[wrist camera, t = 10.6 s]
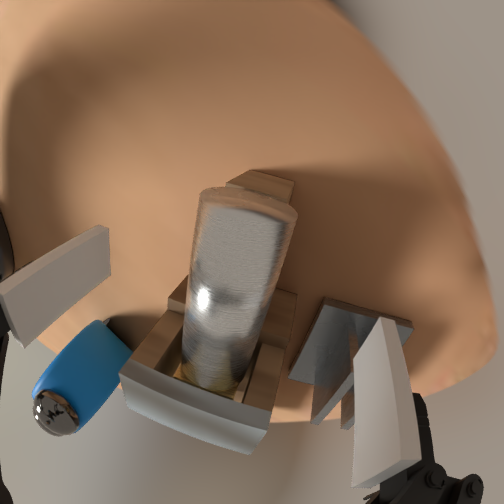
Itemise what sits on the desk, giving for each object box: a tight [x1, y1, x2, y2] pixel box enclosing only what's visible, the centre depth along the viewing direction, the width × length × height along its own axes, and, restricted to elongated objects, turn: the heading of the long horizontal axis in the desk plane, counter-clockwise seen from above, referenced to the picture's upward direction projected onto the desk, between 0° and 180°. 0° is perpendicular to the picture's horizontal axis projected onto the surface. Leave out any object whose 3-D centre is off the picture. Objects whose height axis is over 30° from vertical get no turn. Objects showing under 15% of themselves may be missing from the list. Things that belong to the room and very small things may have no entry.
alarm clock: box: [32, 318, 134, 436], centre depth 22 cm, size 13×6×15 cm, turn 135°
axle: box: [181, 187, 298, 390], centre depth 13 cm, size 10×4×4 cm, turn 167°
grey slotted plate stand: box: [288, 297, 414, 430], centre depth 19 cm, size 8×9×6 cm
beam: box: [118, 170, 297, 455], centre depth 18 cm, size 24×8×11 cm, turn 167°
